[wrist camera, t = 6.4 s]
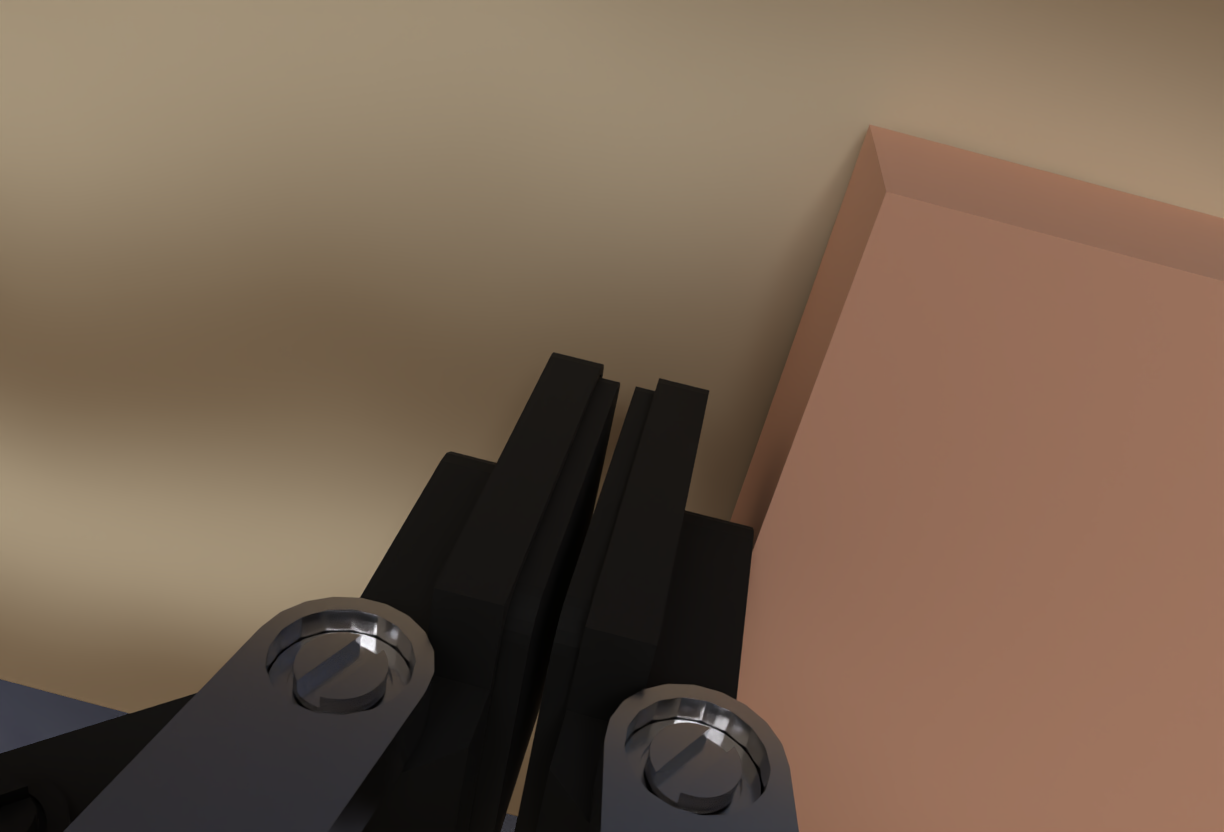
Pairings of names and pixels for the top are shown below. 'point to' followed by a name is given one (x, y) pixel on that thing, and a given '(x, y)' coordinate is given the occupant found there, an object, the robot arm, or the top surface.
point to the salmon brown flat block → (995, 509)
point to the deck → (451, 257)
